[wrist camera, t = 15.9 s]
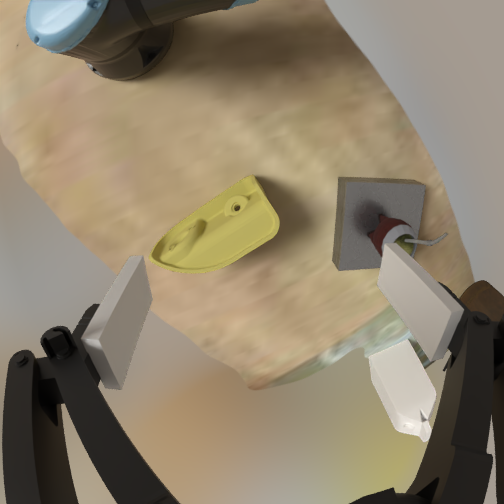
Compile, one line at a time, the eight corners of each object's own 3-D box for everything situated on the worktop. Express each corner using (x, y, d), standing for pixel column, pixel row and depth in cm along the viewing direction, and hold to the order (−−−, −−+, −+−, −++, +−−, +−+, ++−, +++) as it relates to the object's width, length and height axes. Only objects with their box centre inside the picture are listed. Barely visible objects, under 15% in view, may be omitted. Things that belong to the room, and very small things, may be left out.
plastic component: (252, 172, 47) (257, 185, 38) (276, 207, 50) (286, 229, 41) (159, 237, 51) (145, 263, 42) (184, 267, 54) (176, 297, 45)
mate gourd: (367, 252, 50) (407, 298, 37) (360, 212, 47) (404, 250, 34) (402, 239, 50) (448, 279, 36) (397, 199, 46) (448, 232, 33)
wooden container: (455, 332, 69) (494, 383, 49) (450, 300, 63) (498, 354, 43) (490, 304, 66) (532, 348, 46) (488, 269, 60) (539, 314, 40)
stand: (338, 176, 48) (346, 181, 45) (414, 180, 49) (425, 185, 46) (332, 260, 55) (338, 270, 52) (402, 256, 56) (412, 265, 52)
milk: (407, 365, 72) (445, 434, 49) (371, 381, 73) (403, 455, 50) (407, 338, 67) (453, 413, 43) (368, 356, 68) (406, 438, 45)
